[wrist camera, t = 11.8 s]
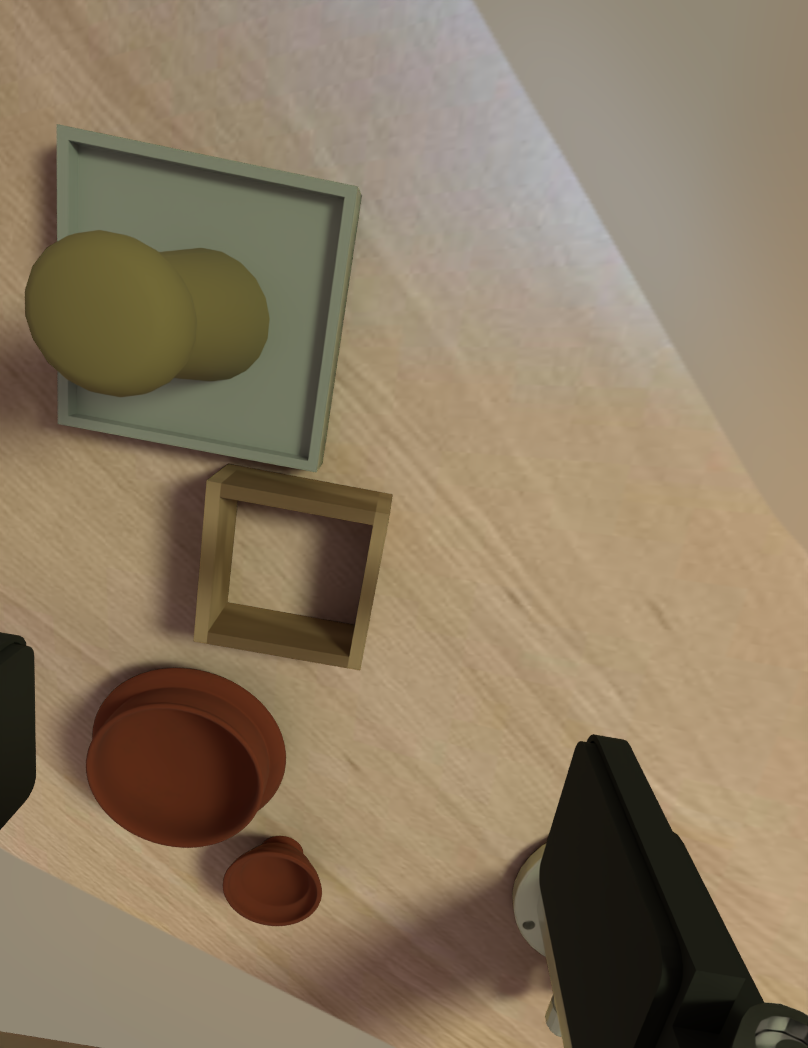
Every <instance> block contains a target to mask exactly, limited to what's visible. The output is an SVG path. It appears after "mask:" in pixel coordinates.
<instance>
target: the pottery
mask: <svg viewBox="0 0 808 1048" xmlns="http://www.w3.org/2000/svg"><path fill="white" fill-rule="evenodd" d="M285 765H286V751H285V745H284V741H283V737H282V734H281V732H280V729H279V727H278V725H277V723H276V721H275V720H274V718H273V717H272V715H271V714H270V712H269V711H268V710H267V709H266V707H265V706H264V705H263V704H262V703H261V702H260V701H259V700H258V699H257V698H256V697H254V696H253V695H252V694H251V693H250V692H248V691H247V690H245V689H244V688H242V687H241V686H239V685H238V684H236V683H234V682H232V681H230V680H228V679H226V678H223V677H221V676H218V675H216V674H212V673H209V672H205V671H201V670H196V669H188V668H165V669H157V670H152V671H148V672H145V673H142V674H139V675H137V676H134V677H132V678H130V679H128V680H127V681H125V682H123V683H122V684H121V685H119V686H118V687H117V688H115V689H114V690H113V691H112V692H111V693H110V694H109V695H108V696H107V698H106V699H105V700H104V702H103V703H102V705H101V706H100V708H99V710H98V713H97V715H96V718H95V721H94V726H93V733H92V742H91V744H90V746H89V749H88V753H87V759H86V773H87V778H88V782H89V786H90V788H91V791H92V793H93V795H94V797H95V799H96V800H97V802H98V803H99V805H100V806H101V807H102V809H103V810H104V811H105V812H106V813H107V814H108V815H109V816H110V817H111V818H112V819H113V820H114V821H115V822H116V823H117V824H119V825H120V826H121V827H123V828H124V829H126V830H127V831H129V832H131V833H133V834H134V835H136V836H138V837H141V838H143V839H145V840H148V841H151V842H154V843H157V844H161V845H166V846H171V847H182V848H193V847H203V846H208V845H213V844H216V843H219V842H222V841H224V840H227V839H229V838H231V837H232V836H234V835H236V834H237V833H239V832H240V831H241V830H243V829H244V828H245V827H246V826H247V825H248V824H249V823H250V822H251V820H252V819H253V818H254V816H255V815H256V813H257V811H259V810H260V809H261V808H262V807H264V806H265V805H266V804H267V803H268V802H269V801H270V799H271V798H272V797H273V796H274V794H275V793H276V791H277V790H278V788H279V786H280V784H281V781H282V779H283V775H284V771H285ZM223 891H224V895H225V897H226V900H227V901H228V903H229V904H230V906H231V907H232V908H233V909H234V910H235V911H236V912H237V913H239V914H240V915H241V916H243V917H245V918H246V919H248V920H250V921H253V922H256V923H259V924H263V925H268V926H286V925H291V924H295V923H298V922H300V921H302V920H304V919H306V918H307V917H309V916H310V915H311V914H312V913H313V912H314V911H315V910H316V909H317V907H318V905H319V903H320V901H321V897H322V887H321V883H320V880H319V877H318V874H317V872H316V870H315V869H314V867H313V866H312V865H311V863H310V862H309V860H308V859H307V857H306V856H305V855H304V854H303V849H302V847H301V846H300V844H299V843H298V842H297V841H295V840H294V839H292V838H289V837H286V836H274V837H271V838H269V839H267V840H266V841H264V843H263V844H262V845H260V846H258V847H256V848H254V849H252V850H251V851H248V852H246V853H245V854H243V855H241V856H240V857H239V858H238V859H236V860H235V862H234V863H233V864H232V865H231V866H230V867H229V868H228V870H227V871H226V873H225V876H224V879H223Z"/></svg>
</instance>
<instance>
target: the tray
mask: <svg viewBox="0 0 808 1048" xmlns="http://www.w3.org/2000/svg"><path fill="white" fill-rule="evenodd" d="M361 198H362V195H361V192H360V190H359V188H358V187H357V186H353V185H348V184H343V183H338V182H333V181H329V180H324V179H319V178H314V177H309V176H304V175H300V174H295V173H290V172H285V171H280V170H275V169H271V168H266V167H261V166H256V165H251V164H247V163H242V162H237V161H232V160H227V159H222V158H218V157H213V156H208V155H203V154H198V153H194V152H189V151H184V150H179V149H174V148H169V147H165V146H160V145H155V144H150V143H145V142H141V141H136V140H131V139H126V138H121V137H116V136H112V135H107V134H102V133H97V132H92V131H87V130H83V129H78V128H73V127H68V126H63V125H59V124H57V241H59V240H61V239H63V238H64V237H66V236H68V235H72V234H75V233H82V232H88V231H95V230H103V231H108V232H113V233H118V234H123V235H127V236H130V237H133V238H135V239H137V240H139V241H141V242H143V243H144V244H146V245H148V246H150V247H152V248H153V249H155V250H157V251H158V252H164V251H174V250H184V249H193V248H206V249H211V250H216V251H221V252H223V253H225V254H227V255H229V256H230V257H232V258H234V259H236V260H237V261H239V262H241V263H242V264H243V265H244V266H245V268H246V269H247V270H248V271H249V272H250V273H251V274H252V275H253V276H254V277H255V278H256V280H257V282H258V284H259V286H260V288H261V290H262V292H263V294H264V295H265V297H266V302H267V307H268V312H269V318H270V321H269V330H268V339H267V341H266V344H265V346H264V348H263V350H262V352H261V355H260V357H259V358H258V359H257V360H256V361H255V362H254V363H253V364H252V365H251V366H250V367H249V369H248V370H247V371H245V372H243V373H241V374H239V375H237V376H235V377H233V378H231V379H226V380H218V381H202V380H190V379H178V378H173V379H172V380H171V381H170V382H169V383H167V384H165V385H163V386H161V387H159V388H157V389H156V390H154V391H152V392H149V393H146V394H143V395H135V396H128V397H116V396H110V395H105V394H100V393H95V392H91V391H88V390H86V389H84V388H82V387H80V386H78V385H76V384H74V383H72V382H71V381H69V380H67V379H66V378H65V377H64V376H62V375H61V374H60V373H59V372H58V424H61V425H66V426H72V427H77V428H82V429H88V430H93V431H98V432H104V433H109V434H114V435H120V436H125V437H130V438H136V439H141V440H146V441H152V442H157V443H162V444H168V445H173V446H178V447H184V448H189V449H194V450H200V451H205V452H210V453H216V454H221V455H226V456H232V457H237V458H242V459H248V460H253V461H258V462H264V463H269V464H274V465H280V466H285V467H290V468H296V469H301V470H306V471H312V472H317V471H318V470H319V468H320V466H321V465H322V463H323V457H324V450H325V443H326V437H327V430H328V423H329V416H330V409H331V402H332V396H333V389H334V382H335V375H336V368H337V361H338V355H339V348H340V341H341V334H342V327H343V320H344V314H345V307H346V300H347V293H348V286H349V279H350V273H351V266H352V259H353V252H354V245H355V239H356V232H357V225H358V218H359V211H360V204H361Z"/></svg>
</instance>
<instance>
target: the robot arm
mask: <svg viewBox="0 0 808 1048" xmlns="http://www.w3.org/2000/svg"><path fill="white" fill-rule="evenodd" d="M35 780H36V741H35V675H34V651H33V649H32V648H31V647H29V646H26V642H25V640H24V638H23V637H21V636H19V635H13V634H7V633H1V632H0V830H1V828H2V827H3V826H4V825H5V824H6V823H7V822H8V820H9V819H10V818H11V817H12V816H13V815H14V814H15V813H16V811H17V810H18V809H19V808H20V807H21V806H22V805H23V803H24V802H25V801H26V800H27V798H28V797H29V795H30V793H31V792H32V789H33V787H34V784H35ZM512 898H513V909H514V914H515V919H516V924H517V926H518V928H519V930H520V932H521V934H522V936H523V937H524V938H525V940H526V941H527V942H528V943H529V945H530V946H531V947H533V948H534V949H535V950H536V951H538V952H539V953H540V954H541V955H543V956H545V957H546V960H547V965H548V971H549V976H550V981H551V986H552V991H553V996H552V999H551V1001H550V1004H549V1006H548V1009H547V1011H546V1015H545V1019H546V1024H547V1026H548V1027H549V1029H550V1031H552V1032H553V1033H554V1034H555V1035H556V1036H559V1037H562V1041H563V1046H564V1048H808V1015H806V1014H804V1013H803V1012H801V1011H798V1010H796V1009H793V1008H790V1007H788V1006H785V1005H782V1004H776V1003H764V1001H763V999H762V997H761V995H760V993H759V991H758V989H757V987H756V985H755V983H754V981H753V979H752V977H751V975H750V973H749V971H748V969H747V968H746V966H745V964H744V962H743V960H742V958H741V956H740V954H739V952H738V950H737V948H736V946H735V944H734V942H733V940H732V938H731V936H730V934H729V932H728V930H727V928H726V926H725V924H724V922H723V920H722V918H721V916H720V914H719V912H718V910H717V908H716V906H715V904H714V902H713V900H712V898H711V896H710V894H709V892H708V890H707V888H706V886H705V885H704V883H703V881H702V879H701V877H700V875H699V873H698V871H697V869H696V867H695V865H694V863H693V861H692V859H691V857H690V855H689V853H688V851H687V849H686V847H685V845H684V843H683V842H682V840H681V839H680V837H679V836H678V835H677V834H676V833H674V832H673V831H672V829H671V827H670V825H669V823H668V821H667V819H666V817H665V815H664V813H663V811H662V809H661V807H660V805H659V803H658V801H657V799H656V797H655V795H654V793H653V791H652V789H651V787H650V785H649V783H648V781H647V779H646V777H645V775H644V773H643V771H642V769H641V767H640V765H639V763H638V761H637V759H636V757H635V755H634V753H633V751H632V748H631V746H630V745H629V743H628V742H627V741H626V740H623V739H617V738H611V737H605V736H600V735H594V734H593V735H591V736H590V737H589V738H588V740H587V742H583V741H580V742H578V743H577V745H576V748H575V751H574V754H573V757H572V760H571V764H570V767H569V770H568V774H567V777H566V780H565V784H564V787H563V790H562V793H561V797H560V800H559V803H558V807H557V810H556V813H555V816H554V820H553V823H552V826H551V830H550V833H549V836H548V839H547V843H546V844H544V845H542V846H541V847H540V848H539V849H538V850H537V851H535V852H534V853H533V854H532V855H531V856H530V857H529V858H528V860H527V861H526V862H525V863H524V865H523V866H522V867H521V869H520V871H519V873H518V875H517V877H516V879H515V883H514V888H513V892H512ZM0 1048H99V1047H93V1046H87V1045H81V1044H75V1043H69V1042H62V1041H57V1040H51V1039H44V1038H38V1037H32V1036H26V1035H20V1034H13V1033H7V1032H1V1031H0Z"/></svg>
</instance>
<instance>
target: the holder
mask: <svg viewBox="0 0 808 1048" xmlns="http://www.w3.org/2000/svg"><path fill="white" fill-rule="evenodd" d="M392 495H393V494H387V493H382V492H377V491H371V490H366V489H360V488H355V487H350V486H344V485H339V484H334V483H328V482H323V481H318V480H312V479H307V478H302V477H296V476H291V475H286V474H280V473H275V472H269V471H264V470H259V469H253V468H248V467H243V466H237V465H232V464H227V465H226V466H225V467H224V468H222V469H221V470H220V471H218V472H217V473H216V474H215V475H213V476H212V477H211V478H209V479H208V480H207V483H206V495H205V507H204V519H203V532H202V544H201V556H200V568H199V581H198V593H197V605H196V617H195V630H194V642H200V643H206V644H212V645H217V646H223V647H229V648H235V649H240V650H246V651H252V652H257V653H263V654H269V655H275V656H280V657H286V658H292V659H298V660H303V661H309V662H315V663H321V664H326V665H332V666H338V667H343V668H349V669H355V670H360V668H361V663H362V658H363V653H364V647H365V642H366V637H367V631H368V626H369V621H370V616H371V610H372V605H373V600H374V595H375V589H376V584H377V579H378V574H379V568H380V563H381V558H382V553H383V547H384V542H385V537H386V532H387V526H388V521H389V516H390V509H391V502H392ZM238 500H239V501H244V502H250V503H255V504H261V505H266V506H271V507H277V508H282V509H288V510H293V511H299V512H304V513H309V514H315V515H320V516H326V517H331V518H336V519H342V520H347V521H353V522H358V523H364V524H369V525H373V529H372V535H371V540H370V546H369V551H368V557H367V562H366V568H365V573H364V579H363V584H362V590H361V595H360V601H359V606H358V612H357V617H356V623H355V625H352V624H347V623H341V622H335V621H330V620H324V619H318V618H313V617H307V616H301V615H296V614H290V613H285V612H279V611H273V610H268V609H262V608H256V607H251V606H245V605H240V604H234V603H228V592H229V582H230V572H231V563H232V553H233V543H234V533H235V523H236V513H237V503H238Z"/></svg>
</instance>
